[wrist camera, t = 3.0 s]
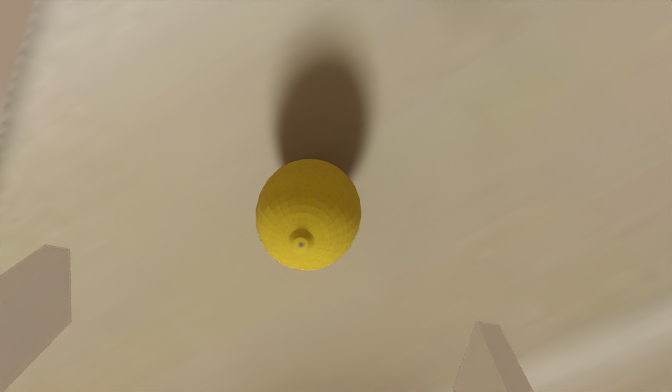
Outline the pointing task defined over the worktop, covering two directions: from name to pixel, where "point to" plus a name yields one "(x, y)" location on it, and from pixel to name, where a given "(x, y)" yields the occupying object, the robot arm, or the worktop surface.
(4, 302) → the robot arm
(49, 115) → the worktop surface
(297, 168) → the lemon
